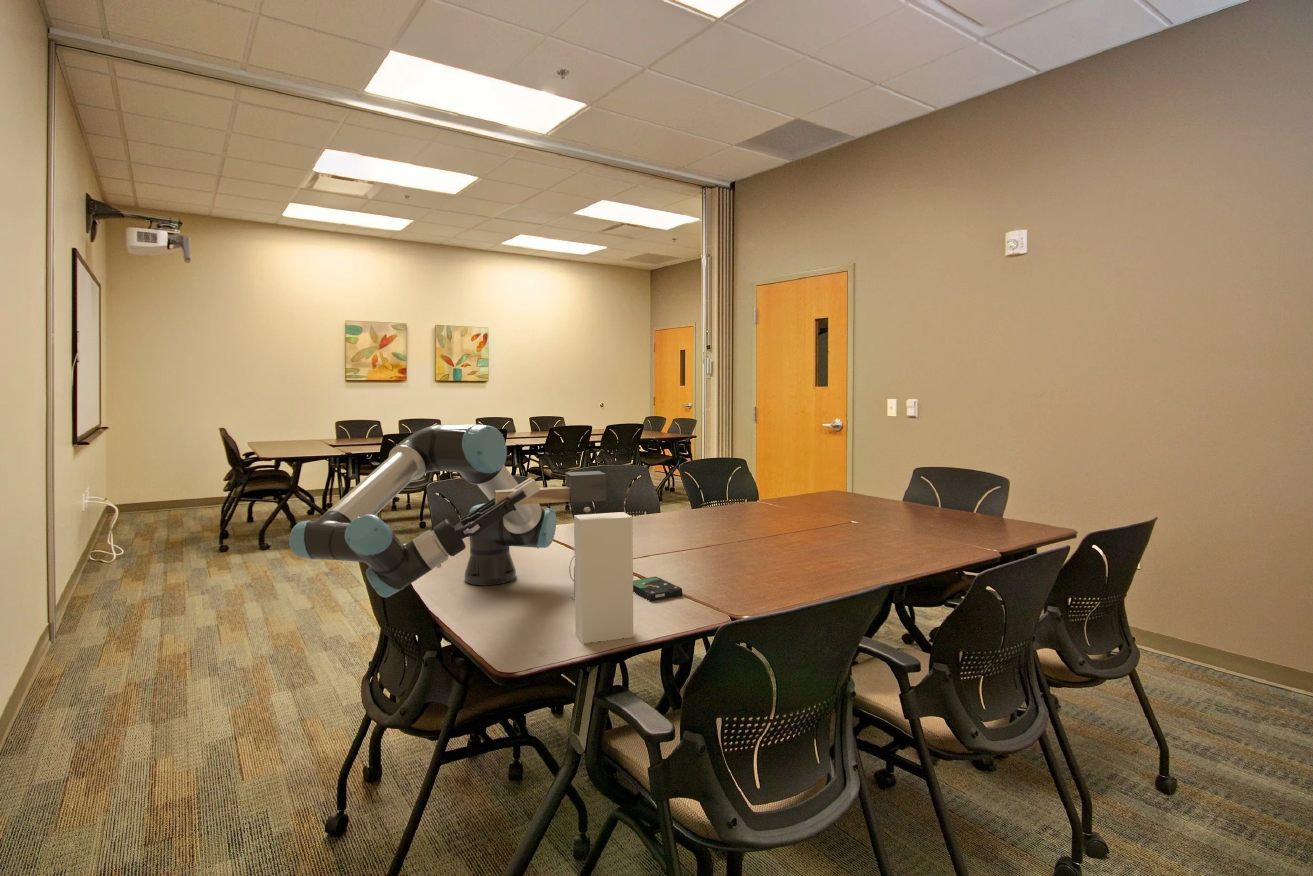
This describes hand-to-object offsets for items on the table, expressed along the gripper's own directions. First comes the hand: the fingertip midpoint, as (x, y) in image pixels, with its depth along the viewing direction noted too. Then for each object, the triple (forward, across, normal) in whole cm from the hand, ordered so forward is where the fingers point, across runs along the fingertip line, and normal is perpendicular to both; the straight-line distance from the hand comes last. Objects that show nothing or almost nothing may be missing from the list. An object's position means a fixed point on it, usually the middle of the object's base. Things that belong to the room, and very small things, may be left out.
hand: (535, 483), depth 151 cm
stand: (-5, 0, -39) cm, 39 cm away
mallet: (+1, 0, -5) cm, 5 cm away
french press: (-2, -31, -41) cm, 51 cm away
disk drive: (+14, -28, -51) cm, 60 cm away
